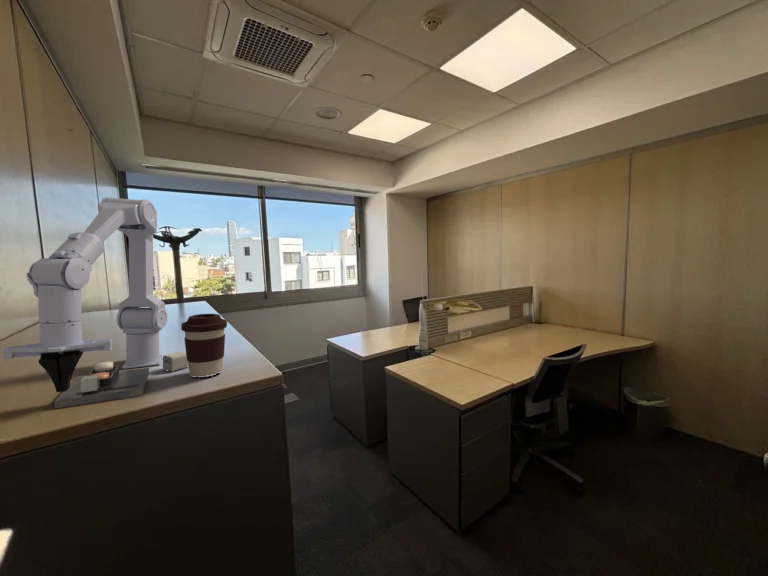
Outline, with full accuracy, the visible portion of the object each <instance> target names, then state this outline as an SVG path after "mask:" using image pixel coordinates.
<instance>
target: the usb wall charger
mask: <svg viewBox="0 0 768 576" xmlns="http://www.w3.org/2000/svg"><path fill="white" fill-rule="evenodd" d="M187 366H189V364H188V361H187V356H186V351H178V352H174V353H169V354H164V355H162V370H163V371H165V370H168V371H167V372H169V371H174V372H176V371H175V370H178V369H181V368H184V367H187ZM181 370H182V369H181ZM178 371H179V370H178Z"/></svg>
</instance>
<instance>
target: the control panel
mask: <svg viewBox="0 0 768 576" xmlns="http://www.w3.org/2000/svg"><path fill="white" fill-rule="evenodd" d="M107 372H108V373H109V378H103V379H99V389H98V390H97V391H90V392H83V393H81V379H82V378H83V377H85V376H90V375H92V374H95V373H101V372H95V367H93V368H92V369H91V370H90V371H89V372H88V374H83V375H77V376H76V377H75V378H74V380H72V381H71V382H70V387H69V389H68V390H67V391H63V392H60V393H61V394H59V396H58V397H57V398H55V400H54V410H56V409H63V408H69V407H75V406H81V405H88V404H94V403H95V404H96V403H102V402H109V401H115V400H122V399H127V398H128V399H129V398H133V397H141V396H143V395H144V394H143V393H144V391H145V387H146V385H147V381H148V379H149V375H150V368H149V367H148V368H147V367H146V368H145V367H144V368H136V369H128V370H120V365H113V370H111V371H107Z"/></svg>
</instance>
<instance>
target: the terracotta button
mask: <svg viewBox="0 0 768 576" xmlns="http://www.w3.org/2000/svg"><path fill="white" fill-rule="evenodd" d="M94 375H99V379H103V378H109V373H108V372H101V373H95V374H92V375H90V376H94Z"/></svg>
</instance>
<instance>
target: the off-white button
mask: <svg viewBox="0 0 768 576" xmlns="http://www.w3.org/2000/svg"><path fill="white" fill-rule="evenodd" d="M113 366H114V362H113V361H102V362H98V363H95V364H94V368H95V372H107V371H111V370H113Z"/></svg>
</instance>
